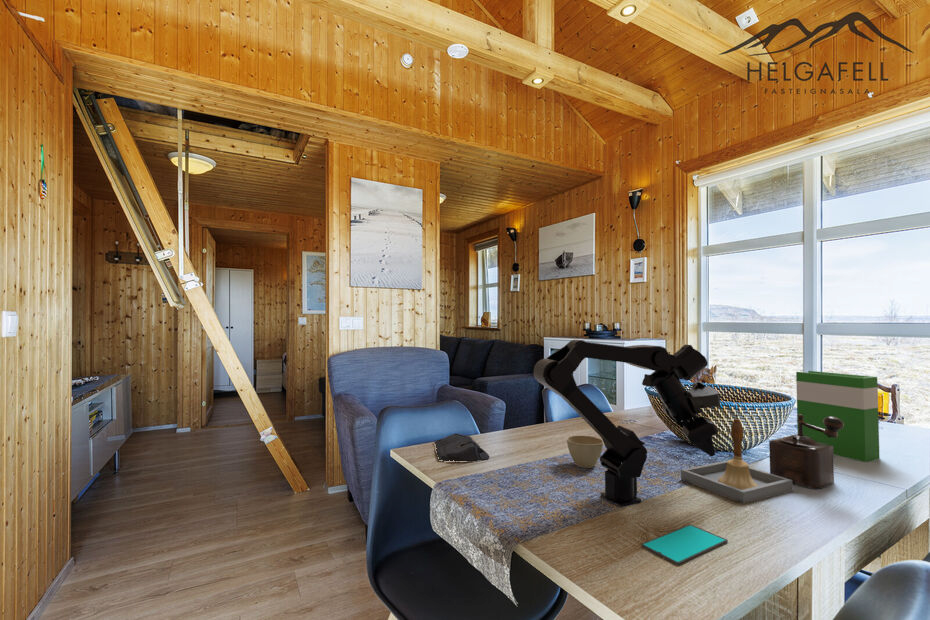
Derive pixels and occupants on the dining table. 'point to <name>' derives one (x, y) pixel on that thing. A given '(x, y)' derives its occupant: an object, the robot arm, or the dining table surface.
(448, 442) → the dark slate chunk
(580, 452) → the flower pot
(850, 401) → the hardback book
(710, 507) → the dining table surface
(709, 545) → the smartphone
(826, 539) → the dining table surface
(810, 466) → the manual coffee grinder
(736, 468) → the hand bell
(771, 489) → the tray
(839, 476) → the dining table surface
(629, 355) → the robot arm
